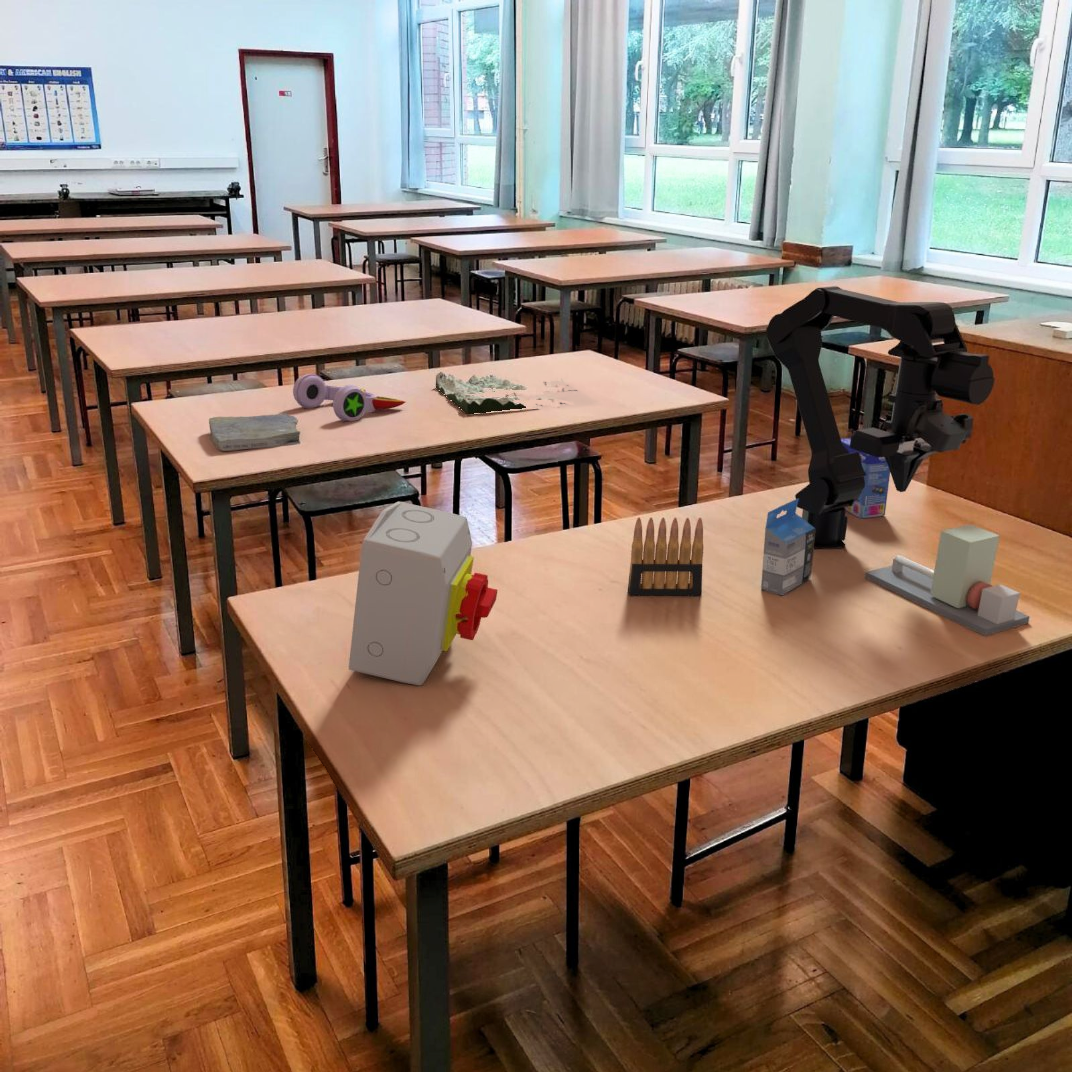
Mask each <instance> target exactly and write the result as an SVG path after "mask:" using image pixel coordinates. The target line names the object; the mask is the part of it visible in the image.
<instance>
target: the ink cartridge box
mask: <svg viewBox="0 0 1072 1072" xmlns="http://www.w3.org/2000/svg"><path fill="white" fill-rule="evenodd" d="M855 431H856V430H853V432H852V433H854V432H855ZM850 441H851V437H849V438H848V437H847V438H841V442H842V444H843V446H844V447H845V448H846V449H847V450H848V451H849V452H850V453H854V452H858V453H859V455H860V457H861V463H862V467H863V469H864V471H865V473H866V474H867V475H866V476H864V480H865V488H863V490H862V493H861V494H860V495H859V497H857V498H856V500H855V502H854V504H853V506H848V507H844V508H845V509H846V512H848V513H849V514H852V515H853V516H855V517H857V518H858V519H865V518H866V519H867V518H875V517H877V518H879V517H884V516H886V510H887V501H888V493H889V487H890V486H889V483H890V477H891V473H890V470H889V467H888V464H887V462H886V460H885V458H884V457H874V456H871V455H869V454H866V453H863V452H860V451H857V450H854V449H851V448H850Z"/></svg>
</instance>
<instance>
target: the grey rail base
mask: <svg viewBox="0 0 1072 1072" xmlns="http://www.w3.org/2000/svg"><path fill="white" fill-rule="evenodd" d="M933 575H934V570H933V569H932V568H929V567H927V566H924V565H923V564H920V563H918V562H915V561H913V560H911V559H908V558H906V557H904V556H902V555H899V554H898V555H896V556H895V557H894V558H893V559H892V563H891V565H888V566H884V567H880V568H876V569H872V570H867V571H865V574H864V578H865V579H867V580H869V581H871V582H873V583H875V584H877V585H879V586H881V587H883V588H886V589H887V590H889V589H890V590H889V591H891V592H893V591H894V593H896V594H897V593H898V595H899V596H902V597H904V598H906V599H908V600H910V601H912V602H913V603H916V604H918V605H921V606H922V607H925V608H927V609H928V610H931V611H933V612H935V613H936V614H939V615H941V616H943V617H945V618H946V619H948V620H951V621H953V622H954V623H957V624H959V625H961V626H964V627H965V628H967V629H970V630H971V631H974V632H976V633H978V634H980V635H982V636H984V637H986V636H989V635H992V634H996V633H999V632H1003V631H1006V630H1010V629H1012V628H1016V627H1018V626H1023V625H1026V624H1029V622H1030V618H1031V617H1030V616H1029V615H1027V614H1025V613H1023V612H1020V611H1018V610H1017V609H1018V603H1019V598H1020V596H1021V595H1020V594H1021V592H1019V591H1016V590H1015V589H1012V588H1009V587H1007V586H1005V585H1003V584H996V585H991V583H990V584H988V583H985V582H983V581H979V582H977V583H975V584H974V585H973V586H972V588H969V593H968V596H967V603H966V606H965V607H961V608H956V607H954V606H952V605H950V604H948V603H946V602H944V601H941V600H939V599H937V598H935V597H933V596H931V595H930V592H931V586H932V581H933Z"/></svg>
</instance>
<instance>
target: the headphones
mask: <svg viewBox="0 0 1072 1072" xmlns="http://www.w3.org/2000/svg"><path fill="white" fill-rule="evenodd" d="M292 388H293V389H292V394H293V398H294V400H295V401H296V403H297V404H298V405H299V406H301V407H302V408H303V409H304V408H305V409H313V408H317V407H319V406H320V405H322V403H323V402H324V400H325V401H332V408H333V412H334V414H335V416H336V417H337V418H338V419H339V420H341V421H343V422H354V421H357V420H359V419H361V418H362V417H363V416H364V414H365V413H371V412H373V413H375V412H376V410H389V409H393V408H397V407H400V406H402V405H404V404H405V403H406V401H404V400H402V399H397V398H391V397H387V396H386V397H385V396H380V395H377V394H375V393H372V392H368V391H367V390H365V389H364V388H360V387H358V386H357V385H353V384H346V385H343V386H336V385H327V384H326V383H325V381H324V379H323V378H322V377H321V376H319V374H318V375H317V374H314V373H307V374H303V375H301V376H300V377H299V378H297V379H296V380H295V382H294V384H293V387H292Z"/></svg>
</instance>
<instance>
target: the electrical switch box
mask: <svg viewBox="0 0 1072 1072" xmlns="http://www.w3.org/2000/svg"><path fill="white" fill-rule="evenodd" d="M472 549H473V539H472V536H471V532H470V526H469V521H468V518H467V517H466V516H463V515H460V514H456V513H454V512H453V513H452V512H448V511H444V510H439V509H435V508H430V507H425V506H421V505H416V504H412V503H408V502H402V501H397V502H395V503H393V504H391V505H390V506H387V507H385V508H384V509H382V511H381V512H380V514H379V515H378V517H377V518H376V520H375V522H373V524H372V526H371V527H370V529H369V531H368V532H367V533H366V535H365V537H364V538H363V541H362V542H361V550H360V559H359V567H358V576H357V577H358V578H357V584H356V585H357V588H356V595H355V596H356V597H355V604H354V614H353V624H352V631H351V634H352V635H351V642H350V649H349V650H350V652H349V653H350V654H349V658H348V660H349V662H348V670H349V671H354V672H358V673H362V674H364V675H365V674H366V675H370V676H373V677H374V676H375V677H378V678H382V679H387V680H392V681H395V682H400V683H405V684H410V685H416V686H420V687H421V686H422V685H423V684H424V683H425V681H426V680H427V678H428V676H429V674H430V673H431V671H432V670H433V668H434V666H435V665H436V663H437V661H438V659H439V657H440V656H441V655H442V652H443V651H444V652H448V650H449V649H450V646H451V644H452V642H453V641H454V639H455V637H456V636H457V635H459V637H460V638H461V639H465V640H468V641H474V639H475V636H476V634H478V630H479V627H480V625H481V620H482V618H483V619H484V618H488V617H489V615H490V613H491V611H492V609H493V607H494V605H495V602H496V600H497V595H498V589H495V588H493V587H492V588H491V587H489V579H488V577H489V576H488V574H484V573H480V572H474V574H472V573H473V572H472V571H473V565H474V558H475V556H471V553H472Z"/></svg>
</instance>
